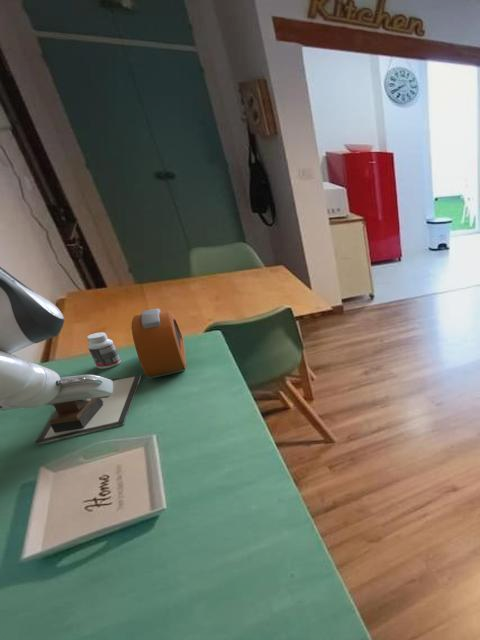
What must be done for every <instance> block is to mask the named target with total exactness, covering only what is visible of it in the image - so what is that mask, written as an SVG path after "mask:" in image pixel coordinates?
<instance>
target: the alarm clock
mask: <svg viewBox="0 0 480 640" xmlns="http://www.w3.org/2000/svg"><path fill="white" fill-rule="evenodd" d="M131 334H132V339H133V343H134V348H135V350H136V351H135V352H136V354H137V358H138V361H139V363H140V366H141V368H142V371H143V373H144V375H145V376H146V377H147V378H151V379H155V378H160V377H164V376H169V375H172V374H178V373H181V372H185V371H186V369H187V357H186V347H185V340H184V337H183V333H182V331H181V328H180V325H179V323H178V320H177V318H176V315H175V314H174V313H173V312H172V311H171V310H169V309H168V310H162V311H161V309H160V308H151V309H145V310H143V311H142V312H141V314H137V315H134V316H133V317H132V320H131Z"/></svg>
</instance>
